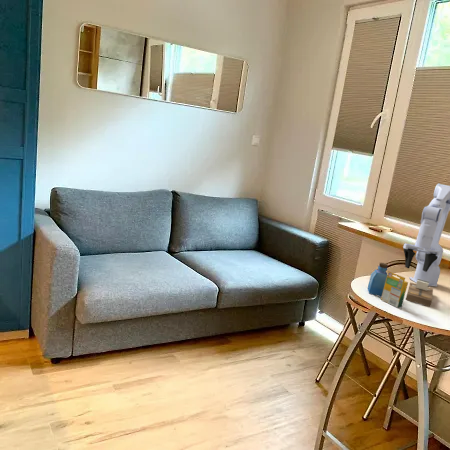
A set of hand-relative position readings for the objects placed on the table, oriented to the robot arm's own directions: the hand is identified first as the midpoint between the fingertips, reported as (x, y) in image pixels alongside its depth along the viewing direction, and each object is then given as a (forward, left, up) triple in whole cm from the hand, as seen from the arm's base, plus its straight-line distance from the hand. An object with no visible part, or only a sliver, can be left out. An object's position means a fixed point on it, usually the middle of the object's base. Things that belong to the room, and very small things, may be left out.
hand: (415, 269), depth 182 cm
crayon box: (+15, +12, -11) cm, 22 cm away
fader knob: (-5, -1, -8) cm, 9 cm away
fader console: (-3, +2, -11) cm, 11 cm away
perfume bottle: (+16, +2, -11) cm, 19 cm away
